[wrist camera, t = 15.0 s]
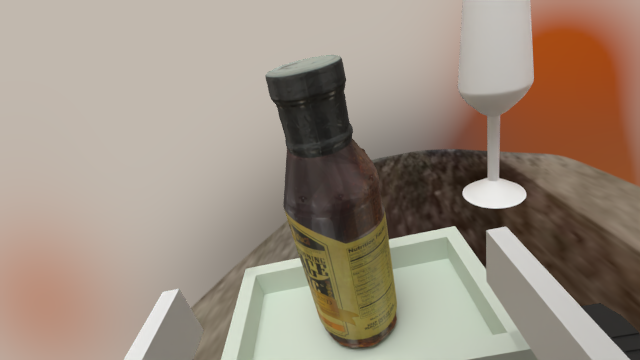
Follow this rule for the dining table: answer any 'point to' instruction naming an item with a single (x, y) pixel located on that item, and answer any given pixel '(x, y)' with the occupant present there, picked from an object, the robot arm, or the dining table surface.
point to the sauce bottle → (334, 204)
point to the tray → (412, 310)
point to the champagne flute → (495, 82)
